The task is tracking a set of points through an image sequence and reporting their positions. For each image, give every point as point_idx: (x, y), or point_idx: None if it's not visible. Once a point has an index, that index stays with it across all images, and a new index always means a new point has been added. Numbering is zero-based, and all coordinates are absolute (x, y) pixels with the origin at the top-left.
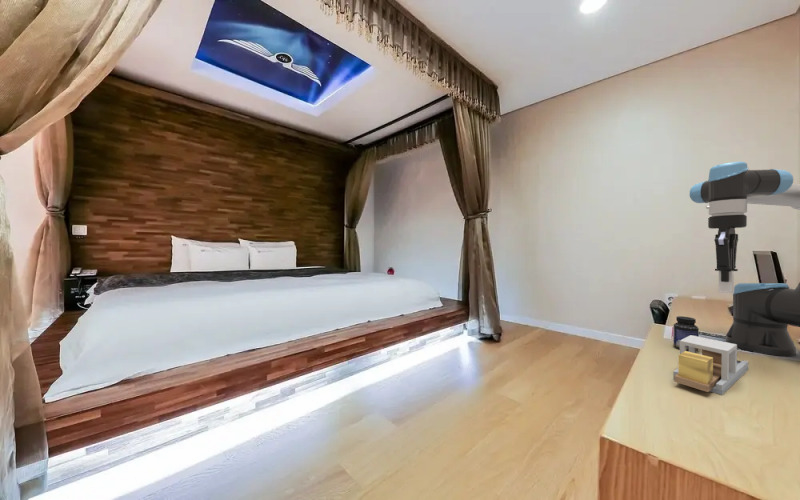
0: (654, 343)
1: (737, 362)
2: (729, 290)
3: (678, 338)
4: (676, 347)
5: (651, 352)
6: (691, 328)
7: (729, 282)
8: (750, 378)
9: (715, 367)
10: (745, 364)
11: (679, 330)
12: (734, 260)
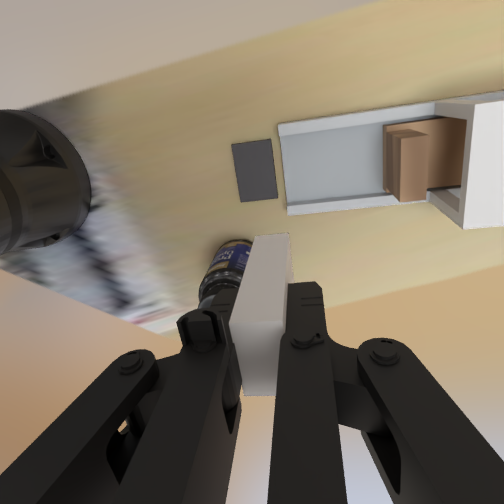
0: None
1: (257, 152)
2: (289, 250)
3: None
4: None
5: (365, 289)
6: None
7: (287, 278)
8: (361, 93)
9: (456, 141)
10: (316, 119)
11: None
12: (100, 431)
